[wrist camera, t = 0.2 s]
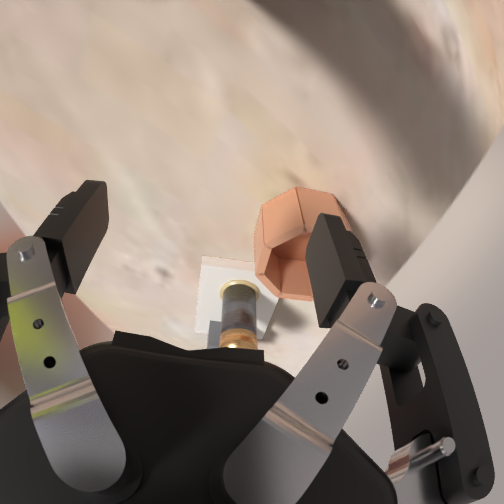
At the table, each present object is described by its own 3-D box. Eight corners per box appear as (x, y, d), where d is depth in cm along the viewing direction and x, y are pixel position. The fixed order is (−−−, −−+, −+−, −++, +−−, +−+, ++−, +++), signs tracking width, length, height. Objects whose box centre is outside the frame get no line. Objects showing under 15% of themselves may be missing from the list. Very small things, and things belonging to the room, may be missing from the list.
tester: (202, 255, 37) (197, 294, 32) (286, 266, 38) (291, 305, 34) (195, 323, 46) (191, 358, 41) (261, 331, 47) (262, 365, 43)
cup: (267, 181, 30) (271, 218, 26) (357, 199, 32) (374, 236, 27) (249, 254, 37) (249, 294, 32) (327, 264, 38) (336, 303, 33)
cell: (224, 281, 37) (220, 353, 30) (259, 286, 38) (261, 357, 30) (220, 303, 40) (216, 371, 33) (252, 306, 40) (253, 374, 33)
